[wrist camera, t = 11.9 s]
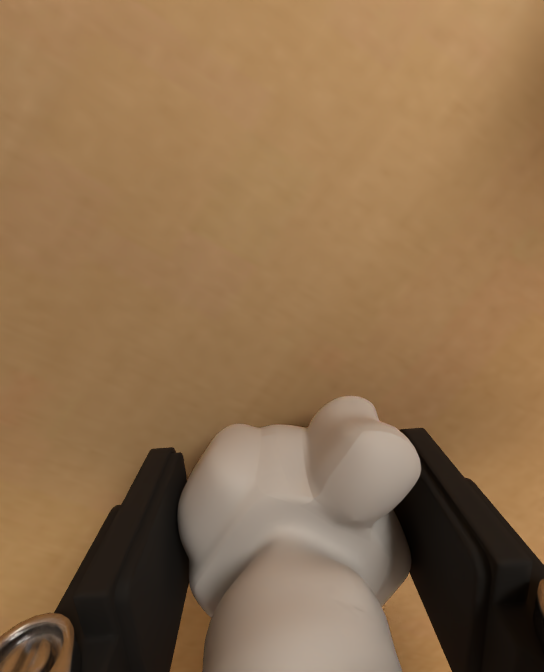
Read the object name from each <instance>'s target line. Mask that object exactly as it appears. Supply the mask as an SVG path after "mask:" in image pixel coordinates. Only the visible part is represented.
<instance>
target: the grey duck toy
mask: <svg viewBox="0 0 544 672" xmlns="http://www.w3.org/2000/svg"><path fill="white" fill-rule="evenodd" d="M420 472H421V464H420V458H419V456H418V454H417V452H416V449H415V447H414V446H413V444H412V443H411V442H410V440H409V439H408V438H407V437H406V436H405V435H404V434H403V433H402V432H400V431H399V430H398V429H397V428H395V427H394V426H391V425H389V424H386V423H383V422H381V421H379V419H378V416H377V412H376V409H375V407H374V405H373V404H372V403H371V402H369V401H368V400H366V399H364V398H361V397H357V396H343V397H339V398H336V399H334V400H332V401H330V402H329V403H327V404H325V405H324V406H323V407H322V408H321V409H320V410H319V411H318V412H317V413H316V414H315V416H314V417H313V418H312V420H311V422H310V424H309V426H308V427H307V428H305V427H299V426H293V425H282V424H274V425H268V426H265V427H261V428H258V427H254V426H251V425H247V424H232V425H229V426H227V427H225V428H224V429H222V430H221V431H220V432H219V433H218V434H217V435H216V436H215V437H214V438H213V439H212V441H211V442H210V444H209V445H208V447H207V448H206V450H205V451H204V453H203V455H202V456H201V458H200V459H199V461H198V462H197V464H196V465H195V467H194V469H193V470H192V472H191V474H190V476H189V478H188V480H187V483H186V484H185V486H184V488H183V491H182V493H181V496H180V499H179V503H178V512H177V521H178V530H179V535H180V539H181V542H182V545H183V547H184V550H185V552H186V554H187V556H188V558H189V584H190V588H191V591H192V593H193V595H194V597H195V599H196V600H197V602H198V604H199V605H200V606H201V607H202V609H203V610H204V611H205V612H206V613H207V614H208V615H209V616H210V617H211V621H210V624H209V627H208V631H207V635H206V639H205V646H204V658H203V671H202V672H402V669H401V666H400V663H399V660H398V657H397V654H396V651H395V648H394V644H393V641H392V637H391V633H390V629H389V625H388V622H387V619H386V616H385V614H384V611H383V609H382V606H383V605H384V604H385V602H386V601H387V600H388V599H389V598H390V597H391V596H392V595H393V593H394V592H395V591H396V590H397V589H398V587H399V586H400V585H401V584H402V583H403V582H404V580H405V579H406V577H407V576H408V574H409V571H410V569H411V562H412V559H411V552H410V549H409V546H408V542H407V539H406V537H405V534H404V531H403V529H402V527H401V525H400V522H399V520H398V518H397V516H396V514H395V512H394V511H393V509H394V508H395V507H396V506H397V505H398V504H399V503H400V502H401V501H402V500H403V499H404V498H405V496H406V495H407V494H408V493H409V492H410V490H411V489H412V488H413V486H414V485H415V484H416V482H417V480H418V478H419V476H420Z"/></svg>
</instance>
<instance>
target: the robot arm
mask: <svg viewBox="0 0 544 672" xmlns="http://www.w3.org/2000/svg"><path fill="white" fill-rule="evenodd" d="M400 432H402V433H403V434H404V435H405V436H406V437H407V438H408V439H409V440H410V442H411V443H412V444H413V446H414V447H415V449H416V452H417V454H418V456H419V458H420V464H421V472H420V476H419V478H418V480H417V482H416V484H415V485H414V486H413V488H412V489H411V490H410V492H409V493H408V494H407V495H406V496H405V498H404V499H403V500H402V501H401V502H400V503H399V504H398V505H397V506H396V507H395V508H394V509H393V511H394V512H395V514H396V516H397V518H398V520H399V522H400V525H401V527H402V529H403V531H404V534H405V537H406V539H407V542H408V546H409V549H410V552H411V559H412V562H411V569H410V571H409V572H410V575H411V577H412V579H413V581H414V584H415V586H416V588H417V591H418V593H419V595H420V598H421V600H422V602H423V605H424V607H425V609H426V612H427V614H428V616H429V619H430V621H431V623H432V626H433V628H434V630H435V633H436V635H437V637H438V640H439V642H440V644H441V647H442V649H443V651H444V654H445V656H446V658H447V661H448V663H449V665H450V668H451V670H452V672H544V565H543V564H542V562H541V561H540V560H539V559H538V558H537V557H536V555H535V554H534V553H533V552H532V551H531V549H530V548H529V547H528V546H527V545H526V543H525V542H524V541H523V540H522V539H521V538H520V536H519V535H518V534H517V533H516V532H515V530H514V529H513V528H512V527H511V526H510V525H509V523H508V522H507V521H506V520H505V519H504V517H503V516H502V515H501V514H500V513H499V511H498V510H497V509H496V508H495V507H494V506H493V504H492V503H491V502H490V501H489V500H488V498H487V497H486V496H485V495H484V494H483V493H482V491H481V490H480V489H479V488H478V487H477V485H476V484H475V483H474V482H473V481H472V480H470V479H468V478H464V477H463V475H462V474H461V473H460V472H459V471H458V469H457V468H456V467H455V466H454V464H453V463H452V462H451V461H450V460H449V458H448V457H447V456H446V455H445V454H444V452H443V451H442V450H441V449H440V447H439V446H438V445H437V444H436V443H435V441H434V440H433V439H432V438H431V436H430V435H429V434H428V433H427V432H426V430H425V429H423V428H413V429H401V430H400ZM186 483H187V477H186V471H185V465H184V459H183V455H182V453H181V452H179V453H176V451H175V449H174V448H173V447H170V448H158V449H151V450H150V451H149V453H148V455H147V457H146V459H145V461H144V463H143V465H142V466H141V468H140V470H139V472H138V474H137V476H136V478H135V480H134V482H133V484H132V485H131V487H130V489H129V491H128V493H127V495H126V497H125V499H124V501H123V503H122V504H121V505H116V506H115V507H113V509H112V510H111V511H110V513H109V514H108V516H107V518H106V520H105V522H104V524H103V525H102V527H101V529H100V531H99V533H98V534H97V536H96V538H95V540H94V542H93V543H92V545H91V547H90V549H89V551H88V552H87V554H86V556H85V558H84V560H83V561H82V563H81V565H80V567H79V569H78V571H77V572H76V574H75V576H74V578H73V580H72V581H71V583H70V585H69V587H68V589H67V590H66V592H65V594H64V596H63V598H62V599H61V601H60V603H59V605H58V607H57V608H56V610H55V612H54V613H46V614H41V615H37V616H34V617H31V618H29V619H27V620H25V621H23V622H21V623H19V624H17V625H16V626H14V627H13V628H11V629H10V630H8V631H7V632H6V633H4V634H3V635H2V636H1V637H0V672H170V667H171V663H172V658H173V653H174V649H175V644H176V639H177V635H178V630H179V625H180V621H181V616H182V611H183V607H184V602H185V597H186V593H187V588H188V584H189V558H188V556H187V554H186V552H185V550H184V547H183V545H182V542H181V539H180V535H179V530H178V521H177V512H178V503H179V499H180V496H181V493H182V491H183V488H184V486H185V484H186Z"/></svg>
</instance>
